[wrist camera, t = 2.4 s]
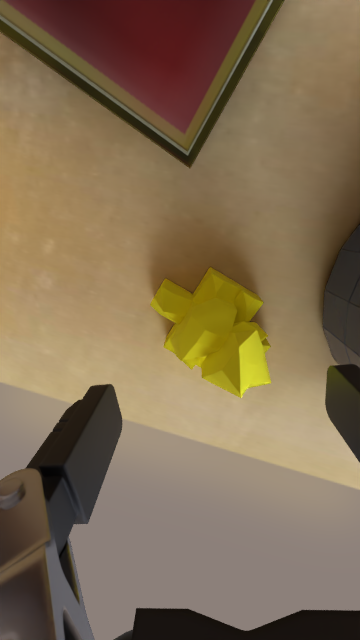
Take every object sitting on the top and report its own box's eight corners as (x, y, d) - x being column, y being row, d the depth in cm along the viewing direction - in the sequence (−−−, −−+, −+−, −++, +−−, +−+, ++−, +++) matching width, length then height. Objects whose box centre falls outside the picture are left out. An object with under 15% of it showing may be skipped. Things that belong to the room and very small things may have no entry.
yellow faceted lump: (181, 249, 16) (168, 270, 9) (283, 311, 17) (347, 375, 10) (140, 322, 18) (101, 389, 11) (234, 374, 19) (256, 467, 12)
